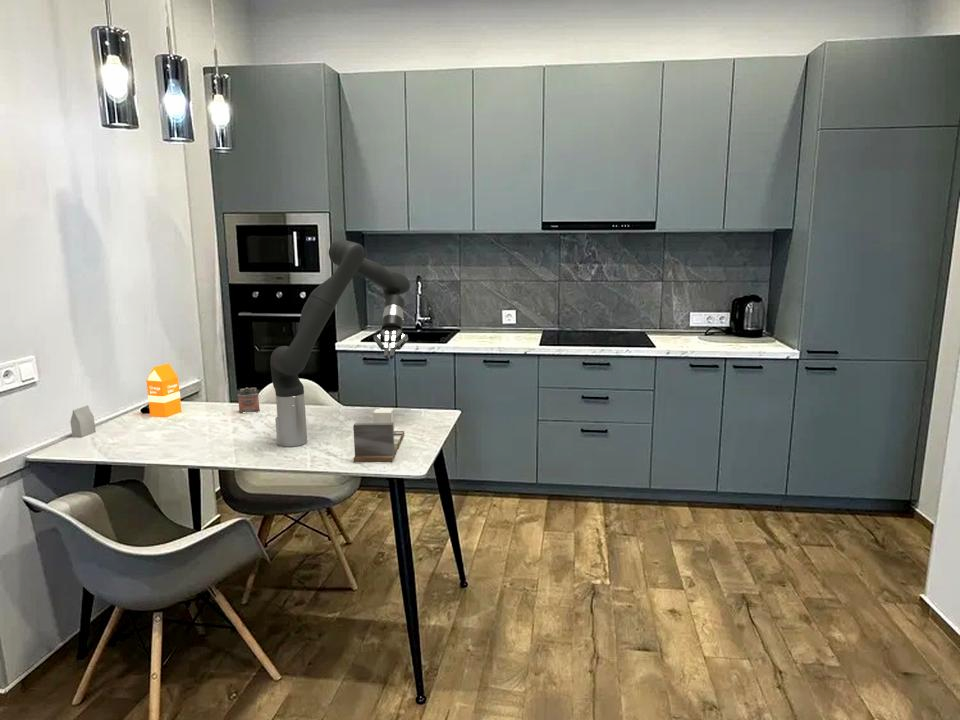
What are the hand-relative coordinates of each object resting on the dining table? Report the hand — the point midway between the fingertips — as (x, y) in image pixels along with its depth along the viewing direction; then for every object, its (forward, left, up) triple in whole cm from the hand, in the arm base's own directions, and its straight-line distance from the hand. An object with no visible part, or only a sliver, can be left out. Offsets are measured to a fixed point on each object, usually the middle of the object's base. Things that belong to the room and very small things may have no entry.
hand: (388, 357), depth 235 cm
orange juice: (-94, +20, -26) cm, 100 cm away
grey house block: (-111, -7, -26) cm, 114 cm away
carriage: (+2, -17, -24) cm, 29 cm away
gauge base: (0, -24, -26) cm, 35 cm away
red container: (-61, +22, -26) cm, 70 cm away
